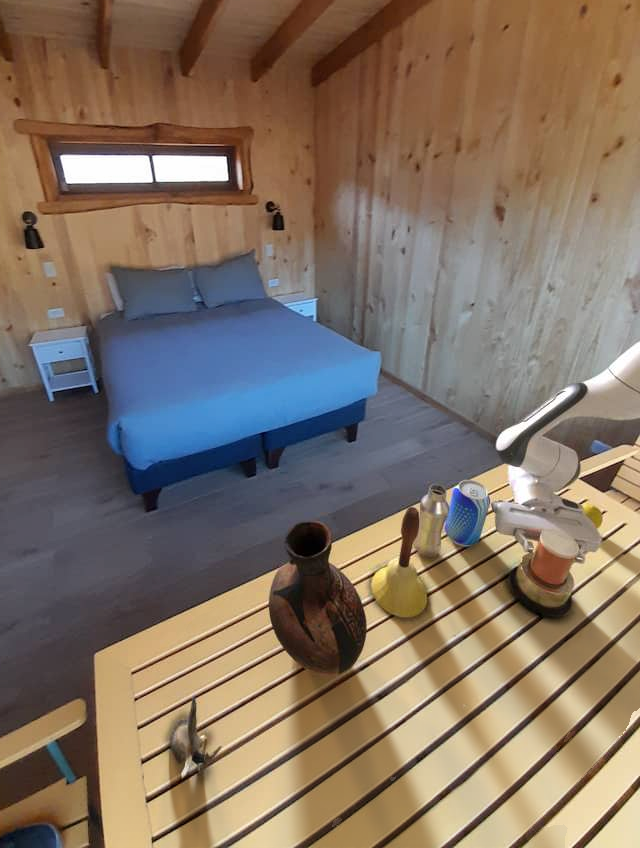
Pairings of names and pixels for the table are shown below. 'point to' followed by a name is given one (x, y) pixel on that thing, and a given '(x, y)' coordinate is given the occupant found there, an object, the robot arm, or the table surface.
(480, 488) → the beer can
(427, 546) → the silver metal bottle
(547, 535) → the terracotta cup
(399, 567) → the handbell
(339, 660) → the ceramic vessel
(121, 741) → the table surface
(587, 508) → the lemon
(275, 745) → the table surface
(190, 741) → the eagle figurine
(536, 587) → the tan hollow cylinder
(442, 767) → the table surface
